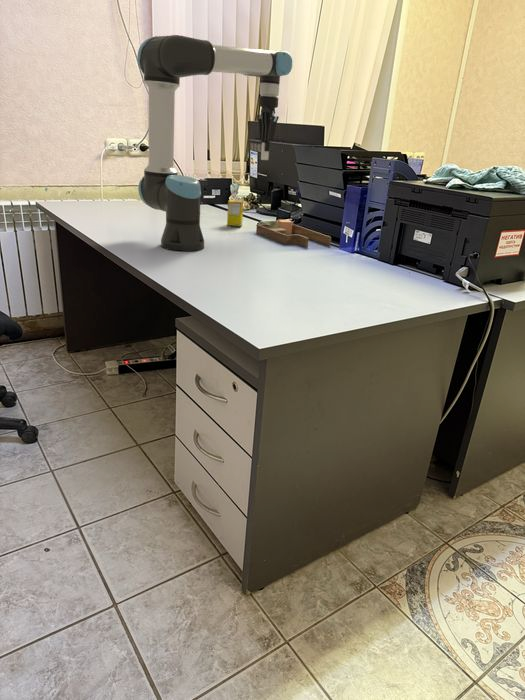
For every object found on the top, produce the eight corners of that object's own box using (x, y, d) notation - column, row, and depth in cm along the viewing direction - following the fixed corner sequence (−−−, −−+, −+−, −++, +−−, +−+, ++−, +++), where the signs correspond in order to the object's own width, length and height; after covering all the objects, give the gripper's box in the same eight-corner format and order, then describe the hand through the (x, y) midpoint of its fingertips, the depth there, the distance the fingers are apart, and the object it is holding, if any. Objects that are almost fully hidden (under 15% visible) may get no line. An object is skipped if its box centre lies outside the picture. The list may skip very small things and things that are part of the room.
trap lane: (294, 248, 189) (295, 238, 188) (248, 229, 215) (248, 221, 214) (330, 245, 198) (331, 236, 196) (281, 228, 224) (282, 220, 222)
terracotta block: (280, 233, 213) (281, 221, 211) (276, 231, 218) (277, 219, 215) (291, 234, 215) (292, 222, 213) (287, 231, 219) (288, 219, 217)
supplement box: (242, 225, 223) (243, 200, 219) (240, 228, 218) (241, 202, 213) (229, 224, 224) (230, 199, 219) (226, 226, 218) (228, 200, 214)
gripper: (286, 97, 195) (280, 161, 204) (268, 97, 205) (264, 158, 214) (269, 95, 191) (264, 161, 201) (252, 95, 201) (248, 158, 211)
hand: (264, 159), depth 207 cm, fingers closed
